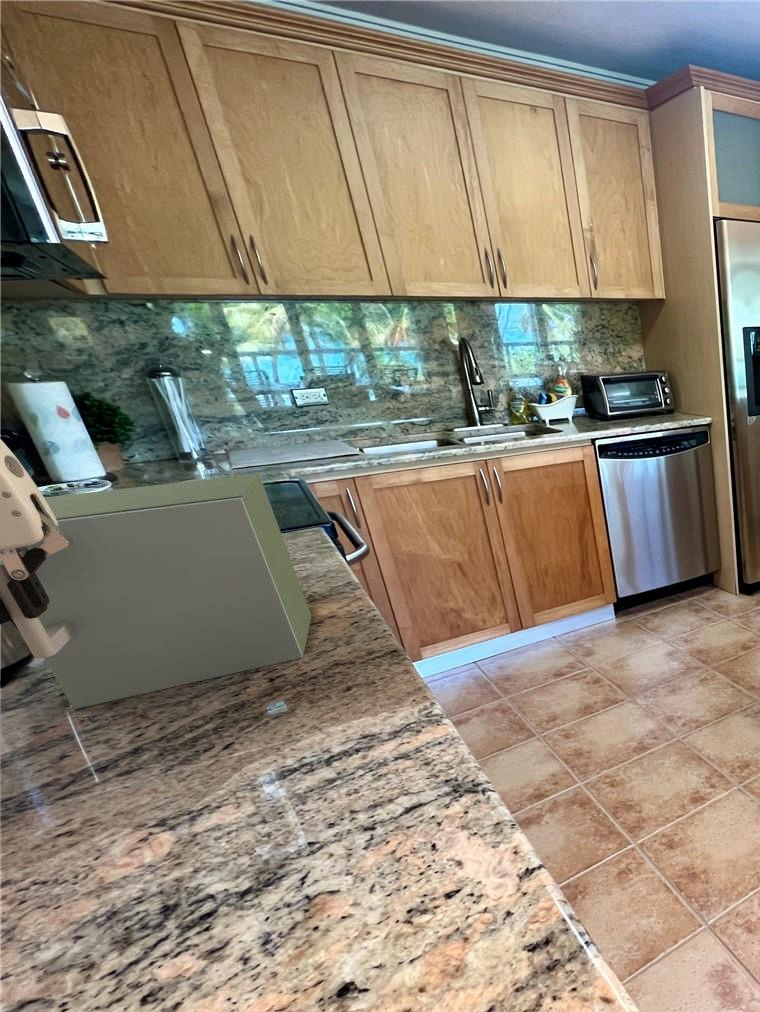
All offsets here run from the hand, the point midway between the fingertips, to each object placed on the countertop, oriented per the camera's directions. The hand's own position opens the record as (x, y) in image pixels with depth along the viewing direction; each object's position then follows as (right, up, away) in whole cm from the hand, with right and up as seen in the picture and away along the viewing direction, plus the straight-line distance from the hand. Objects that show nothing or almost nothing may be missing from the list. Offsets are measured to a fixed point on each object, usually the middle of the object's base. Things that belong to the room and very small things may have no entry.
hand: (20, 615), depth 64 cm
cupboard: (0, -6, +21) cm, 22 cm away
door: (+6, -9, +12) cm, 16 cm away
